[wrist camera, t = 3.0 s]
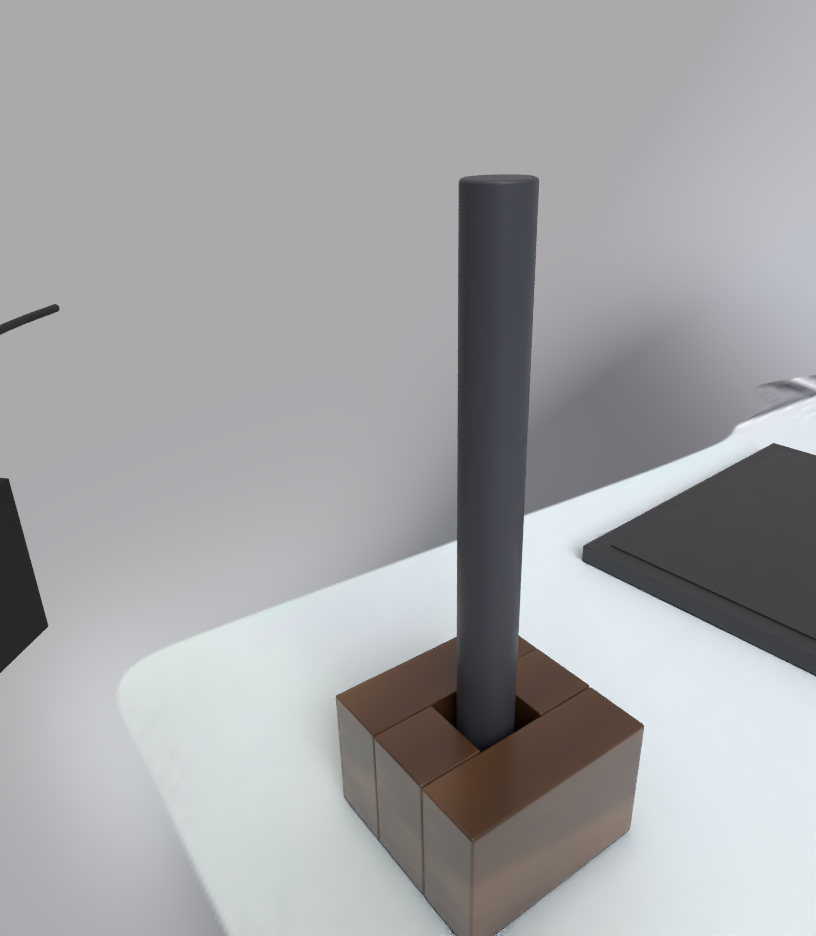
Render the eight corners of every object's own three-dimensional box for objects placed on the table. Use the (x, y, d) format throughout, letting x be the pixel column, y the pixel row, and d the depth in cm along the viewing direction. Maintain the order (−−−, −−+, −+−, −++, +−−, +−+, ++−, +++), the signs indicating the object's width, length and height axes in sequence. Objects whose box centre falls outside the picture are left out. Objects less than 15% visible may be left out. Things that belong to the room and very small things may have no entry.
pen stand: (343, 797, 26) (335, 695, 24) (491, 712, 30) (494, 617, 28) (470, 955, 21) (472, 841, 19) (630, 830, 25) (645, 724, 23)
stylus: (453, 794, 26) (454, 175, 18) (504, 790, 26) (530, 173, 18) (459, 838, 25) (464, 181, 16) (514, 834, 25) (547, 179, 16)
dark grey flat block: (771, 455, 51) (773, 441, 51) (1022, 531, 41) (1028, 515, 41) (581, 560, 40) (583, 544, 39) (867, 700, 30) (873, 680, 30)
